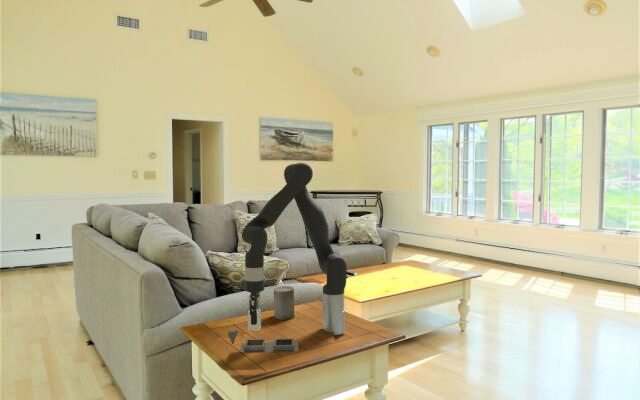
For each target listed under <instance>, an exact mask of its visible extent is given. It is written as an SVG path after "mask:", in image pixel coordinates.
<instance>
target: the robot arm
mask: <svg viewBox="0 0 640 400" xmlns="http://www.w3.org/2000/svg"><path fill="white" fill-rule="evenodd" d="M313 176H314V172H313V169H312V167H311V165H309V163H305V162H298V163H292V164H288V165H287V166H286V167H284V170H283V178H284V181H285V183H286V184H285V185H284V186H283V187H282V188H281V190H279V191H278V192H277V193H276V194H274V195H273V196H272V197H271V198H269V200H268V201H267V202H266V204H265V205H264V207H263V208H262V209H261V210H260V211H259V213H258V214H257V215H256V216H255V217H254V218H252V219H251V220H250V221H249V222H248V223H247V224H246V225H245V226H244V227H243V230H242V232H241V239H242V240H243V242H244V243H245V244H249V245H250V249H249V250H248V251H246V252H245V255H244V260H245V261H244V291H245V292H247V293H250V294H249V296H248V304H249V305H248V308H249V309H250V315H251V325H256V324H257V309H260V304H261V301H260V300H261V292H263V291H265V265H264V263H265V260H264V257H265V252H266V249H267V243H268V234H267V233H268V232H267V231H266V228H271V227H273V225H275V223H276V222H277V220H278V219H279V218H280V216H281V215H282V213H283V212H284V211H285V209H286V208H287V207H288V205H289V204H290V203H291V202H292V201H293V200H295V203H296V206H297V208H298V210H299V213H300V215H301V219H302V221H303V224H304V226H305V229H306V232H307V233H308V236H309V239H310V241H311V243H312V245H313V247H314V250H315V255H316V258H317V262H318V265H319V269H320V270H321V272H322V273H323V274H324V275H326V282H325V284H324V285H323V286H322V330H323V331H324V332H328V333H332V335H333V336H339V335H345V334H346V333H345V331H346V329H345V328H346V326H345V325H346V324H345V323H346V314H345V313H346V312H345V311H346V310H345V288H346V286H347V275H348V271H347V269H348V268H347V266H348V265H347V262H346V261H345V259H344V258H343V257H342V256H338V255H336V254H335V252H334V250H333V247H332V245H331V242H330V237H329V236H330V234H329V230H330V229H329V224H328V221H327V218H326V216H325V214H324V211H323V209H322V207H321V206H320V205H319V203H318V202H317V201H316V200H315V199H314V198H313V196H312V195H311V194H310V192H309V190H308V188H307V185H308V184H309V183H310V182H311V180H313V179H312V178H313ZM252 310H255V311H252Z"/></svg>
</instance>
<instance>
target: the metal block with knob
mask: <svg viewBox="0 0 640 400" xmlns="http://www.w3.org/2000/svg"><path fill="white" fill-rule="evenodd" d="M252 311H255V310H252ZM261 327H262V309H261V308H259V309H257V324H256V325H251V315H250V308H249V309H248V311H247V332H248V331H249V332H251V331H253V332H255V331H257V332H258V331H259V332H260V331H261Z"/></svg>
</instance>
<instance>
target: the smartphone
mask: <svg viewBox="0 0 640 400" xmlns="http://www.w3.org/2000/svg"><path fill="white" fill-rule="evenodd" d="M238 334H239V330H230V331H228V336H229V339H230V342H231V344H234V343H235V341H236V338H237V336H238Z"/></svg>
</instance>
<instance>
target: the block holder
mask: <svg viewBox="0 0 640 400" xmlns="http://www.w3.org/2000/svg"><path fill="white" fill-rule="evenodd" d="M267 352H268V353H271V352H273V353H274V352H275V353H277V352H280V353H281V352H299V342H298V341H296V342H295V338H274V340H273V342H267V339H266V338H254V339H253V338H252V339H251V338H250V339H249V338H248V339H245V342H244V343H241V345H240V349H239V353H267Z"/></svg>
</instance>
